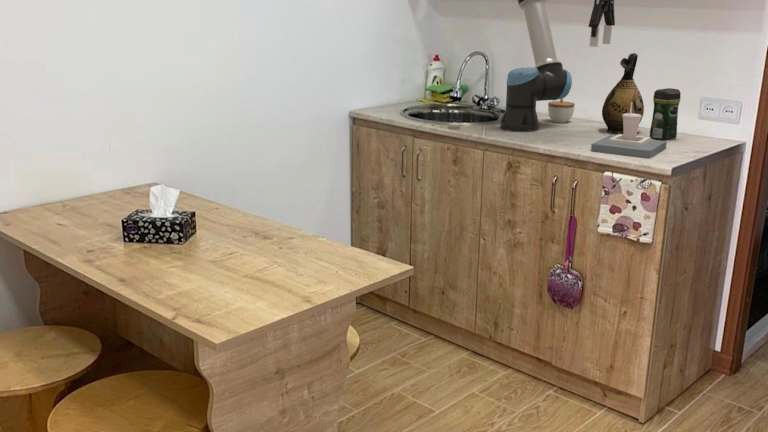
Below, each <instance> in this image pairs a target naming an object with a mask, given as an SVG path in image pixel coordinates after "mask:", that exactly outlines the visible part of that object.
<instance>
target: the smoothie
mask: <svg viewBox="0 0 768 432" xmlns="http://www.w3.org/2000/svg"><path fill="white" fill-rule="evenodd" d="M632 103H633V102H631V106H630V113H626V114H623V115H622V117H623V135H624V140H630V141H635V140H636V136H638V131H639V127H640V123H641V122H640V119H641V116H642V115H640V114H632Z"/></svg>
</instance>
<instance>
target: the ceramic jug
mask: <svg viewBox="0 0 768 432" xmlns="http://www.w3.org/2000/svg"><path fill="white" fill-rule="evenodd" d="M638 57H639V55H638V54H637V53H635V52H633V53H630V54H628V56H627V58H626V57H623V58H622V59H621V60H620V61H619V62H620V63H619V64H620V66H621V67H622V69H624V71H623V72H624V73H623V75H622V77H621V79H620V80H619V81H618V82H617V83H616V84H615V86H614V87H613V88H612V89H611V91H610V92H609V93H608V94H607V96H606V97H605V100H604V103H603V105H602V109H601V115H602V120H603V122H604V124H605V125H606V128H607V129H606V131H607V132H610V133H612V134H623V117H622V115H623V114H626V113H630V106H631V102H633V103H632V114H640V115H642V116H641V119H640V123H641V122H642V120H643V117H644V114H645V113H644V112H645V105H644V100H643V96H642V94H641V92H640V90H639V88H638V86H637V84H636V82H635V79H634V73H635V70H636V66H637V62H638Z"/></svg>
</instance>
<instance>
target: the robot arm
mask: <svg viewBox="0 0 768 432" xmlns="http://www.w3.org/2000/svg"><path fill="white" fill-rule="evenodd" d="M547 2H548V0H517V3H518V8H519V9H521V10H523V13H524V17H525V22H526V26H527V33H528V35H529V41H530V45H531V50H532V54H533V59H534V64H535V65H534V67H531V66H528V67H519V68H515V69H514V68H513V69H512V70H510V71H509V72H508V73H507V79H506V96H505V97H506V98H505V99H506V100H505V101H506V102H505V110H504V112H503V115H502V117H501V120H500V126H499V129H502V130H505V131H510V132H535V131H536V132H537V131H539V129H540V121H539V118H538V113H537V102H538V101H540V102H541V101H558V100H560V99H563V100H564V98H566V97H567V96H568V95H569V93H570V91H571V89H572V86H573V78H572V75H571V72H570V71H569V70H567V69H564V67H563V66H564V65H563V63H562V62H561V61H560V60H558V58H557V54H556V49H555V45H554V44H555V43H554V40H553V35H552V30H551V27H550V22H549V18H548V12H547V8H546V7H547V6H546V3H547ZM602 17H603V19H604V23H605V25H603V33H602V44H603V45H611V40H612V30H613V26H615V25H616V23H615V19H616V18H615V0H594V1H593V7H592V12H591V15H590V19H589V23H588V28H590V36H589V47H592V48H596V47H597V48H598V46H599V38H600V24H601V21H602Z"/></svg>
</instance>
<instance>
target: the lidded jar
mask: <svg viewBox="0 0 768 432" xmlns="http://www.w3.org/2000/svg"><path fill="white" fill-rule="evenodd" d="M547 104H548V105H547V107H548V108H547V111H548V116H549V118H550V119H551V120H552V122H553V123H559V124H560V123H561V124H562V123H563V124H564V123H568V122H569V121H570V120H571V119H572V118H573V115H574V111H575V102H572V101H565V100H564V98H563V99H559V100H551V101H548V102H547Z"/></svg>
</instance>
